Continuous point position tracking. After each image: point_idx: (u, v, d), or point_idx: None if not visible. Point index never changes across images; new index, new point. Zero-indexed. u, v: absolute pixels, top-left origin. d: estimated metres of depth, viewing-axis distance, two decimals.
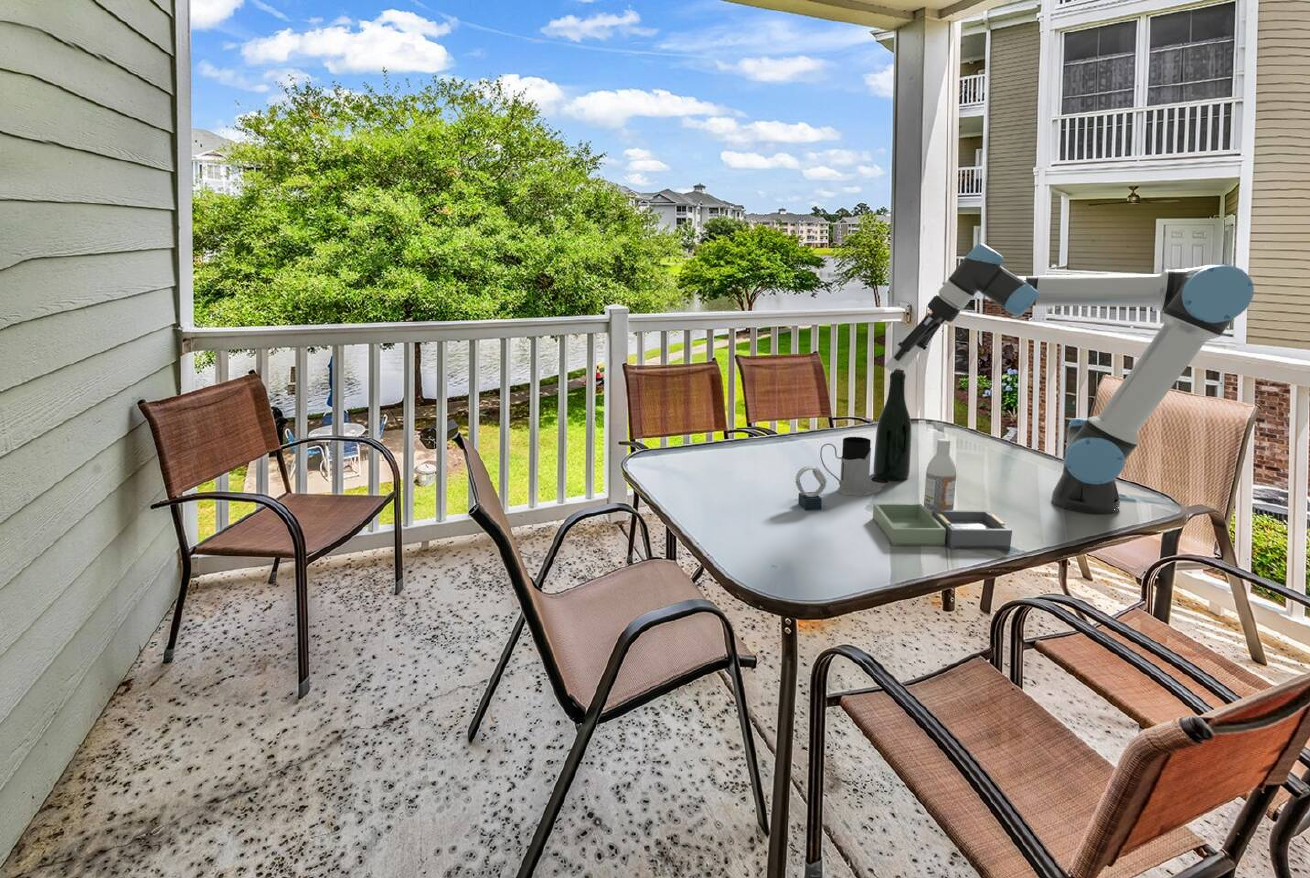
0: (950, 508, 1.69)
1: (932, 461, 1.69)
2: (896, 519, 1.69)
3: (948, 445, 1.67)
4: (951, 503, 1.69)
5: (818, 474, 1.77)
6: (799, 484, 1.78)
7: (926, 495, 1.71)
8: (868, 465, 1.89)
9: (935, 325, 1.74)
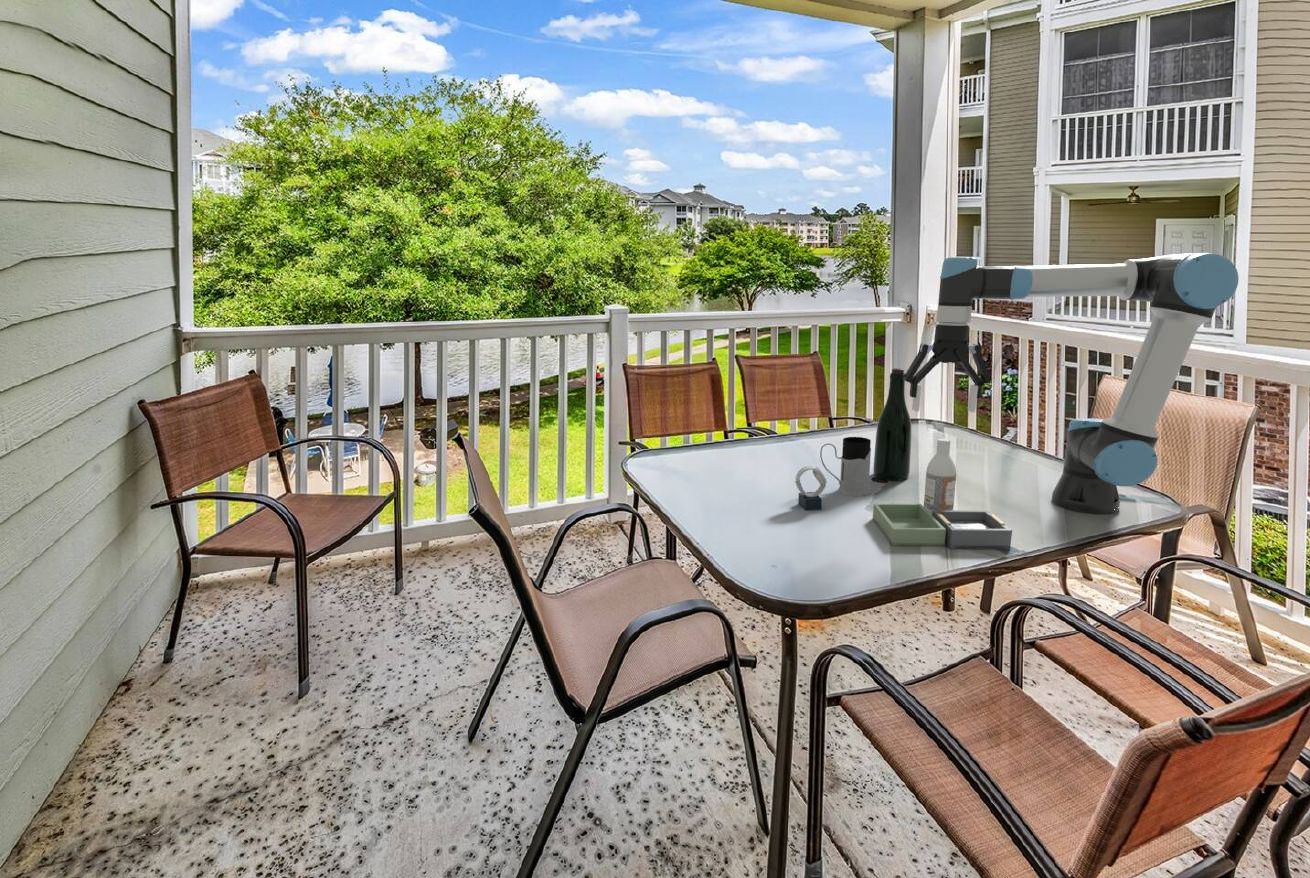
0: (950, 508, 1.69)
1: (932, 461, 1.69)
2: (896, 519, 1.69)
3: (948, 445, 1.67)
4: (951, 503, 1.69)
5: (818, 474, 1.77)
6: (799, 484, 1.78)
7: (926, 495, 1.71)
8: (868, 465, 1.89)
9: (943, 350, 1.62)
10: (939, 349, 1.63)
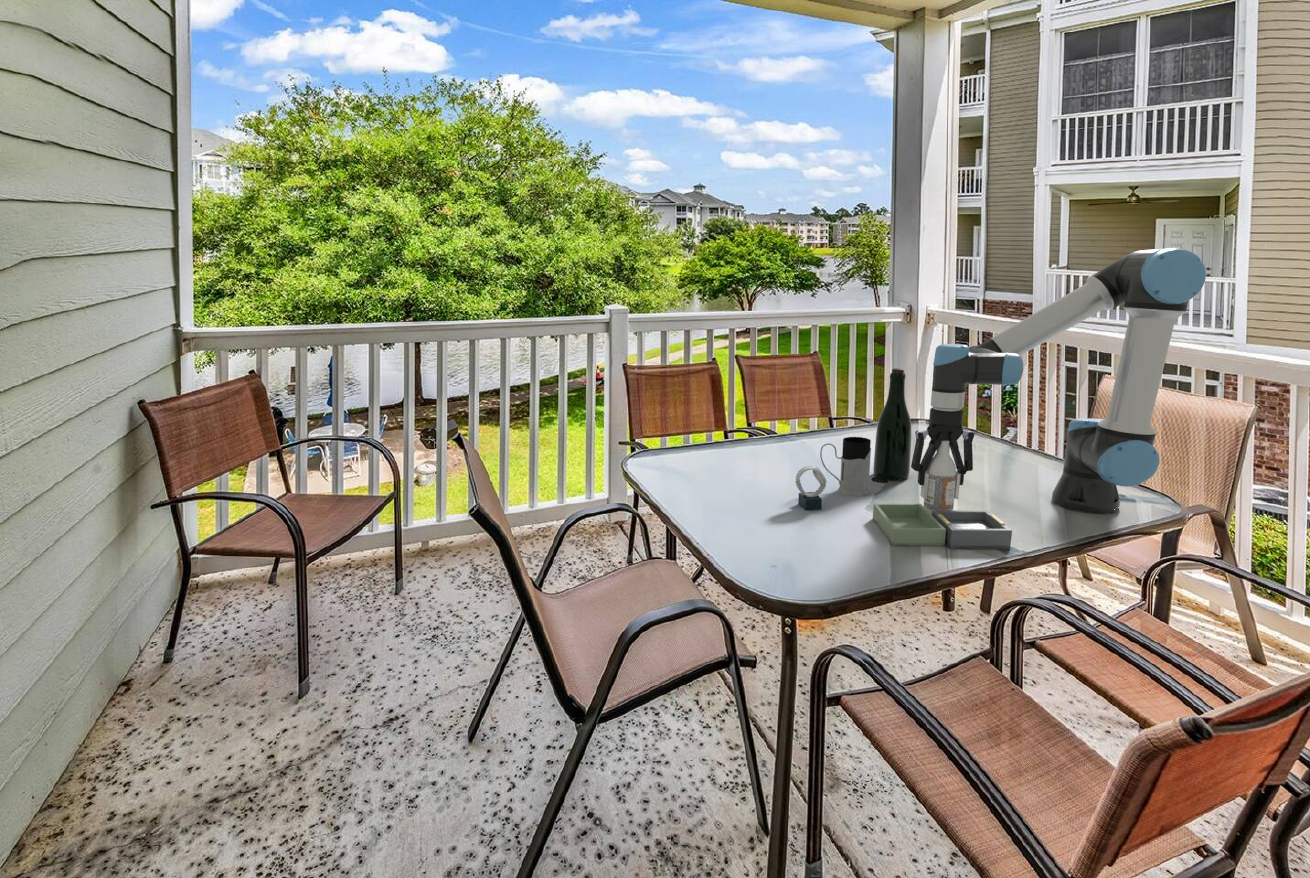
0: (950, 508, 1.69)
1: (932, 461, 1.69)
2: (896, 519, 1.69)
3: (948, 445, 1.67)
4: (951, 503, 1.69)
5: (818, 474, 1.77)
6: (799, 484, 1.78)
7: None
8: (868, 465, 1.89)
9: (938, 434, 1.66)
10: (934, 433, 1.66)
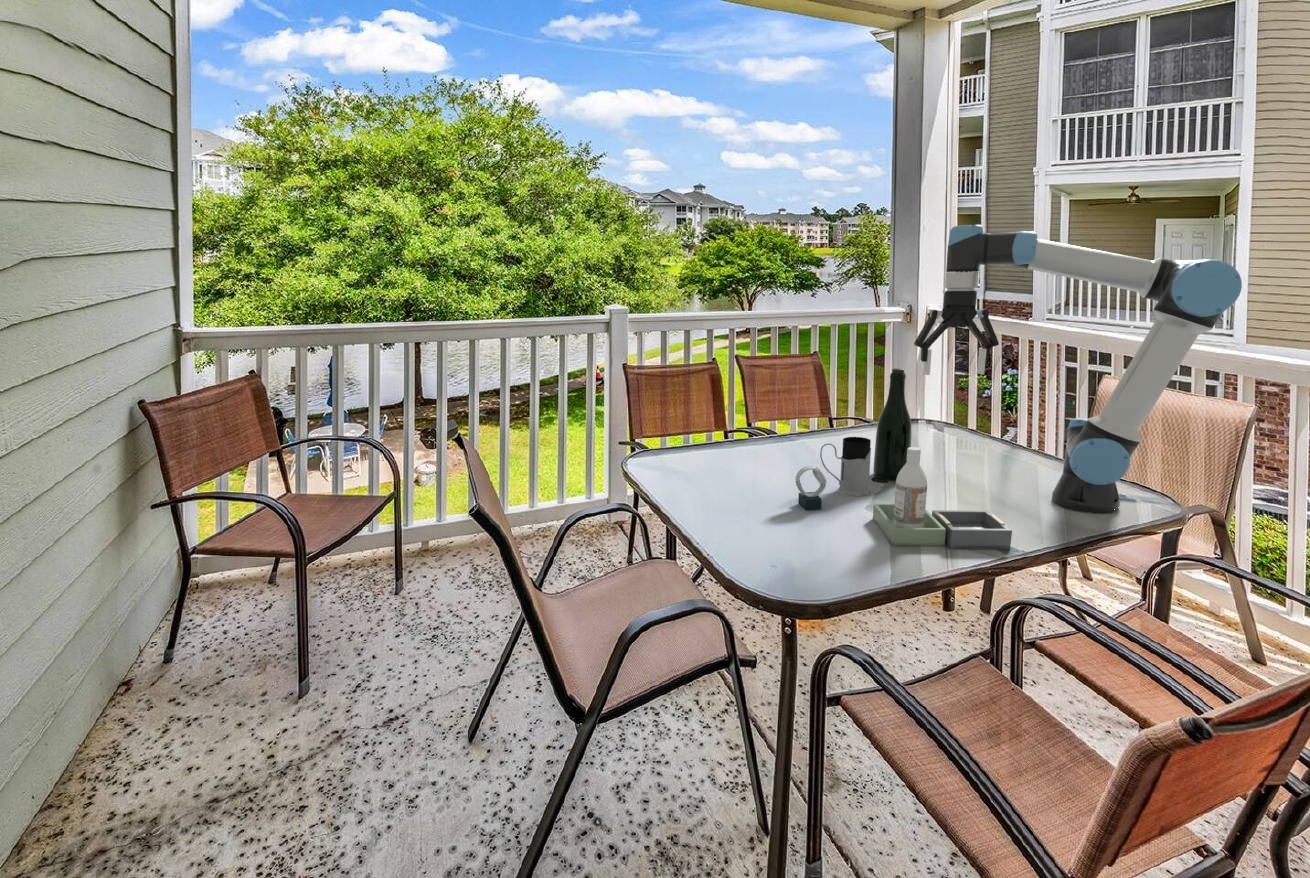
0: (921, 521, 1.59)
1: (902, 471, 1.59)
2: None
3: (918, 454, 1.57)
4: (922, 516, 1.59)
5: (818, 474, 1.77)
6: (799, 484, 1.78)
7: (896, 507, 1.61)
8: (868, 465, 1.89)
9: (952, 315, 1.70)
10: (948, 314, 1.70)
